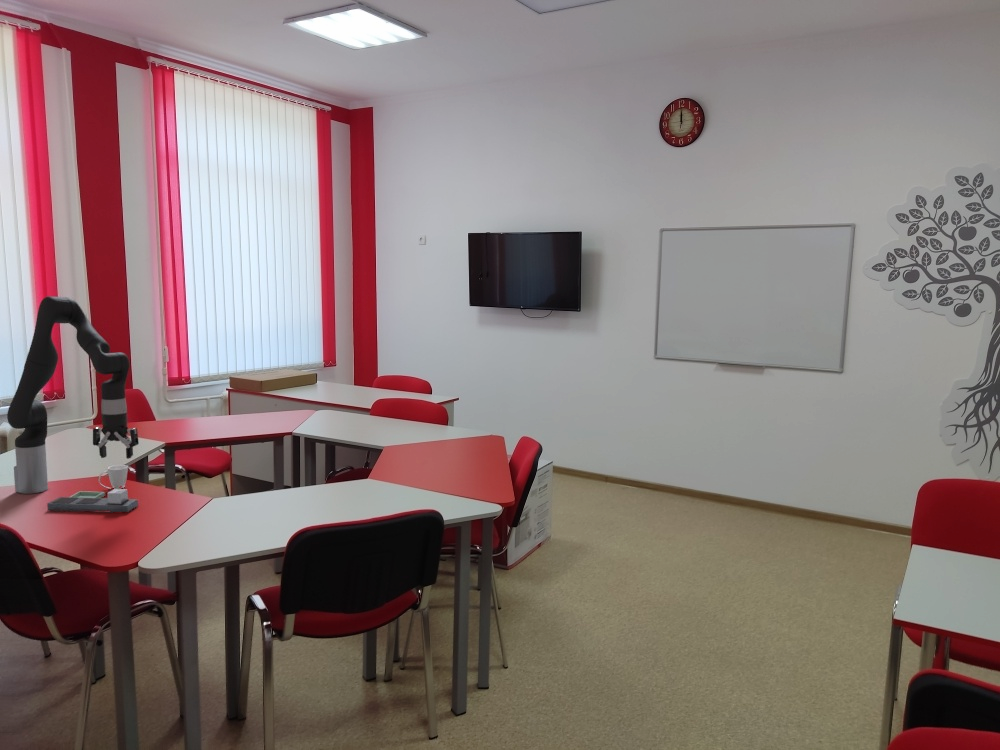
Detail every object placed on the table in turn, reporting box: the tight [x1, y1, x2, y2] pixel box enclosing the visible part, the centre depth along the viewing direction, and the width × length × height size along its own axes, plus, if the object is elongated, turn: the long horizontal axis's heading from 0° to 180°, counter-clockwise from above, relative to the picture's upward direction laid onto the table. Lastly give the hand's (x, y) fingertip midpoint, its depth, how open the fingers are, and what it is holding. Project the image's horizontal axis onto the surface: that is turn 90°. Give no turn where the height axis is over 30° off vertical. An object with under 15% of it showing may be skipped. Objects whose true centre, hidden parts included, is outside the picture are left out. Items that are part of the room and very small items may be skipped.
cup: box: [98, 464, 129, 490], centre depth 261 cm, size 7×10×8 cm
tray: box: [69, 490, 106, 498], centre depth 248 cm, size 9×9×2 cm
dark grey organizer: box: [46, 496, 139, 513], centre depth 240 cm, size 27×7×3 cm, turn 91°
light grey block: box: [107, 488, 129, 505], centre depth 240 cm, size 4×4×6 cm
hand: (116, 457), depth 238 cm, fingers open, 8 cm apart
